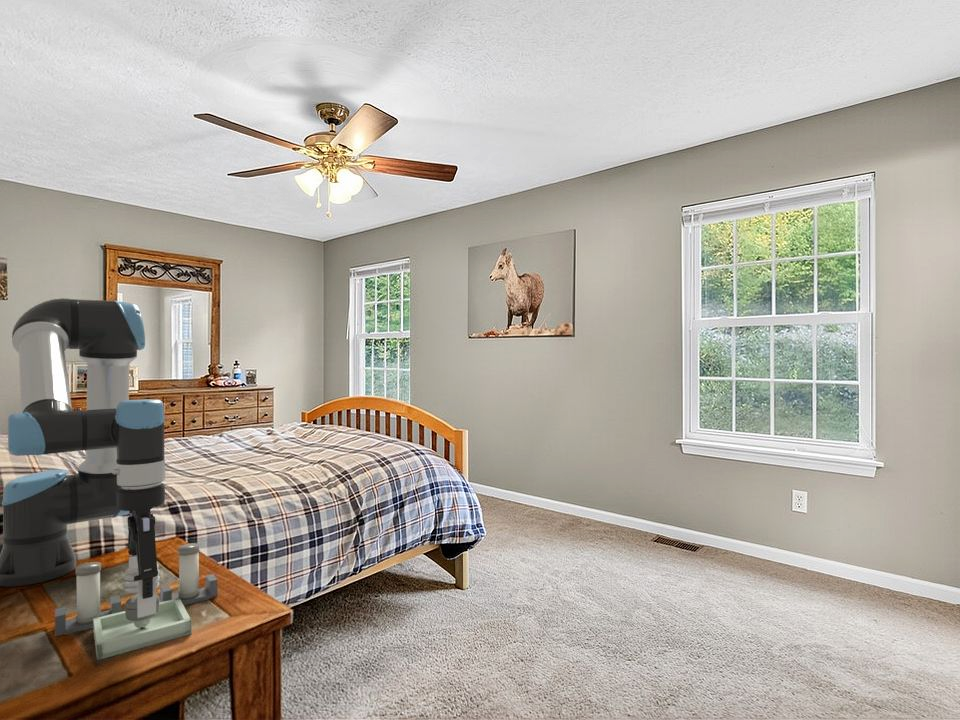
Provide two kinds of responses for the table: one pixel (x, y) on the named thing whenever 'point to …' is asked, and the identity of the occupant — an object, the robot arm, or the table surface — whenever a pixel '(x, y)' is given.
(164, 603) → the tray
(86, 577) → the fuse
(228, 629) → the table surface
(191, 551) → the grey capped cylinder
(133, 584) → the light bulb
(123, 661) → the table surface
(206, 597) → the clip block
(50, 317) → the robot arm
